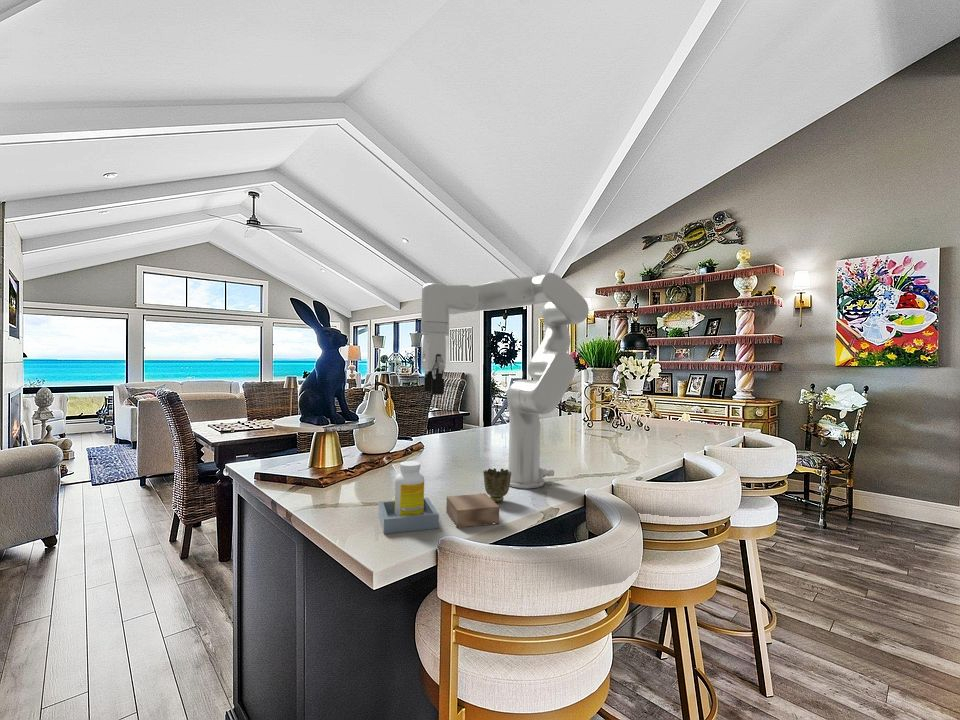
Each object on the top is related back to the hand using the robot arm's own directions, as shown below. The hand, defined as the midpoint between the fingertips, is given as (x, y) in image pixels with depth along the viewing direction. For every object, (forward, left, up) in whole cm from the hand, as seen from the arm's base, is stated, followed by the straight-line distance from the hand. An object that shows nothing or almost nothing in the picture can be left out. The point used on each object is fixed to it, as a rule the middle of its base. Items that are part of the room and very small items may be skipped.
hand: (433, 392), depth 120 cm
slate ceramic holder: (+9, +16, -28) cm, 34 cm away
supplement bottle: (+9, +16, -28) cm, 33 cm away
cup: (-16, +8, -28) cm, 34 cm away
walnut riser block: (-6, +18, -28) cm, 34 cm away
